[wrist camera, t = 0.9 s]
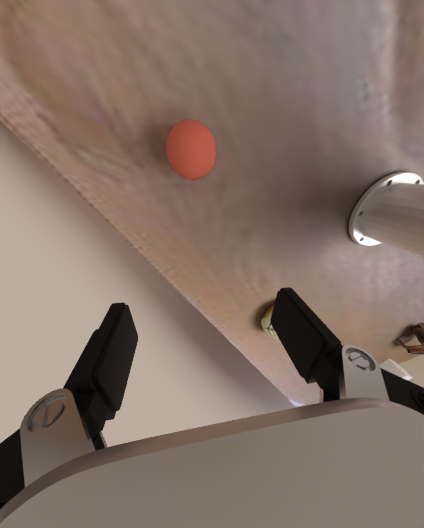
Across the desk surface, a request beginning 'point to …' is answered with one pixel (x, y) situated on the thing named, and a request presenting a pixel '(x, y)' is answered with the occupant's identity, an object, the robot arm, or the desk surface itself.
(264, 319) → the decorated donut
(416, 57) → the desk surface
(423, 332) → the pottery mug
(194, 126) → the ball
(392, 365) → the white cube
